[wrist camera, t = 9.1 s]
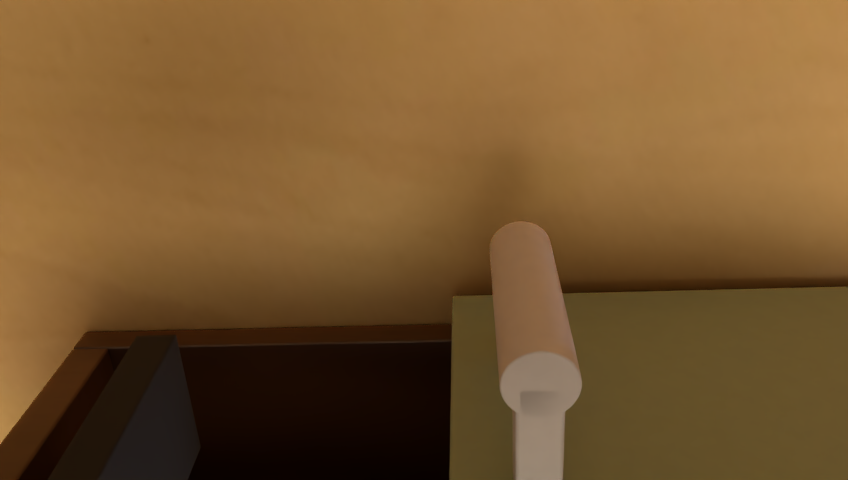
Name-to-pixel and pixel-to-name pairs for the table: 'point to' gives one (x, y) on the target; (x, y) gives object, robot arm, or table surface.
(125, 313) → the table surface
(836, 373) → the sliding door
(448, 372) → the cabinet
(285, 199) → the table surface
